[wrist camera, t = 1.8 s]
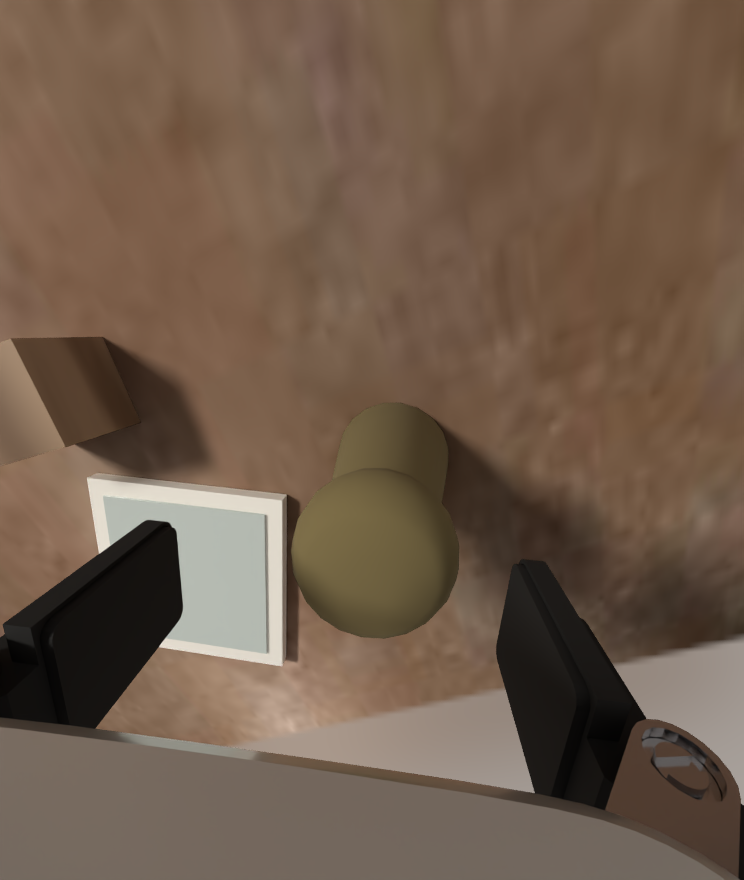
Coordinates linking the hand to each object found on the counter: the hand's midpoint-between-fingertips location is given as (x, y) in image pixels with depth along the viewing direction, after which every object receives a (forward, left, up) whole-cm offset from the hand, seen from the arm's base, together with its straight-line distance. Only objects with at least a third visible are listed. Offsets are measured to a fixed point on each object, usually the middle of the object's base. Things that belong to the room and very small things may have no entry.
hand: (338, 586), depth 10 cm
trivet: (+11, +9, -11) cm, 18 cm away
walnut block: (+17, -2, -11) cm, 21 cm away
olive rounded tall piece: (-1, 0, -11) cm, 11 cm away
